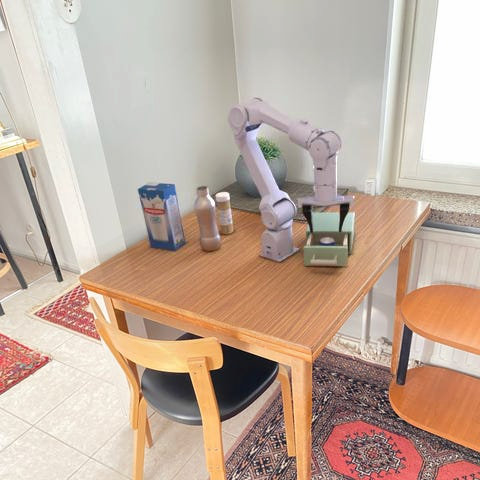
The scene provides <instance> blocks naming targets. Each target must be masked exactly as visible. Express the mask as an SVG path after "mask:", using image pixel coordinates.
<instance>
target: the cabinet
mask: <svg viewBox="0 0 480 480" xmlns="http://www.w3.org/2000/svg"><path fill="white" fill-rule="evenodd" d="M312 217H313V233H349V241H348V255H351V254H352V251H353V245H354V238H355V237H354V236H355V212H354V211H353V212H351V211H349V212H348V214H347V215H346V217H345V220H344V222H343V226H342V232H339V221H340V211H337V212H336V211H335V212H334V211H333V212H312ZM309 234H310V228H309V225H308V224H307V226H306V230H305V245H306V244H307V241H308V238H309Z"/></svg>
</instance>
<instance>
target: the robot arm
mask: <svg viewBox="0 0 480 480" xmlns="http://www.w3.org/2000/svg"><path fill="white" fill-rule="evenodd" d="M227 122H228V124H229V127H230V128H231V130H232V132H233V138H234V141H235V144H236V147H237V148H238V151H239V152H240V155H241V157H242V159H243V161H244V163H245V165H246V168H247V169H248V171H249V174H250V176H251V178H252V180H253V182H254V184H255V187H256V189H257V191H258V193H259V195H260V197H261V200H260V203H259V206H258V210H259V212H260V217H261V218H260V219H261V221H262V224H263V225H264V226H265V228H266V229H265V230H264V232H263V233H262V234H261V236H260V245H261V253H260V257H262V258H265V259H268V260H272V261H275V262H278V263H281V262H283V261H284V260H286V259H288V258H289V257H291V256H293V255H294V254H296V253H298V252H299V251H300V248H298V247H295V246H294V239H293V222H294V218H295V217H296V216H297V208H299V209H300V208H301V212H302V215H303V216H304V218H305V220H306V223H307V226H308V225H309V228H310V233H313V217H312V213H313V207H332V206H339V212H340V221H339V232H342V226H343V222H344V220H345V217H346V215H347V214H348V212H350V207H354V205H355V196H354V195H340V194H339V195H338V191H337V190H338V186H337V185H338V180H337V179H338V153H339V152H340V150H341V149H342V139H341V137H340V135H339V134H338V133H337V132H335V131H334V130H327V131H324V129H323V128H321V127H319V128H318V127H317V126H315V125H313V124H311V123H309V120H308V119H306V118H303V119H297V120H295V121H294V120H293V119H292V118H290V117H288V116H287V115H285V114H284V113H282V112H281V111H279V110H277V109H276V108H275V107H273V106H271V105H270V103H269V101H268V100H264V99H262V98H261V97H253V98H252V99H249V100H246V101H242V102H240V103H235V104H232V105H231V107H230V108H229V111H228V116H227ZM263 124H266V125H268V126H269V127H271V128H274V129H276V130H278V131H280V132H283V133H285V134H287V135H288V140H289V141H290V142H291V143H293V144H295V145H297V146H299V147H301V148H302V149H304V150H306V151H308V153H309V155H310V157H311V159H312V165H313V167H314V171H313V180H314V182H313V183H314V185H313V187H314V186H315V192H314V196H307V197H299V198H298V199H297V207H296V205H295V202H294V201H293V200H292V199H291V198H290V196H289V194H288V193H287V192H285V191H283V190H280V189H279V187H278V184H277V182H276V179H275V178H274V175H273V173H272V170H271V168H270V167H269V164H268V162H267V161H266V158H265V156H264V154H263V152H262V149H261V147H260V145H259V143H258V140H257V135H258V132H259V130H260V129H261V127H262V126H263ZM288 196H289V197H288ZM290 199H291V200H290ZM275 202H276V204H274V203H275ZM273 204H274V205H273Z"/></svg>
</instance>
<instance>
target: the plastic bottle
mask: <svg viewBox="0 0 480 480" xmlns="http://www.w3.org/2000/svg"><path fill="white" fill-rule="evenodd" d="M209 189H210V188H209V187H208V185H202V186H198V187H196V188H195V190H196V194H195V195H196V196H197V197H196V199H195V200H194V203H193V209H194V212H195V215H196V218H197V222H198V226H199V244H200V246H201V248H202V250H204V251H207V252H211V251H216V250H218V249H219V248H220V247H221V246H222V245H221V244H222V240H221V235H220V233H219V229H218V226H217V217H216V216H217V215H216V202H215V200H214V198H213V197H212V196H211V195H210V190H209Z"/></svg>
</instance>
